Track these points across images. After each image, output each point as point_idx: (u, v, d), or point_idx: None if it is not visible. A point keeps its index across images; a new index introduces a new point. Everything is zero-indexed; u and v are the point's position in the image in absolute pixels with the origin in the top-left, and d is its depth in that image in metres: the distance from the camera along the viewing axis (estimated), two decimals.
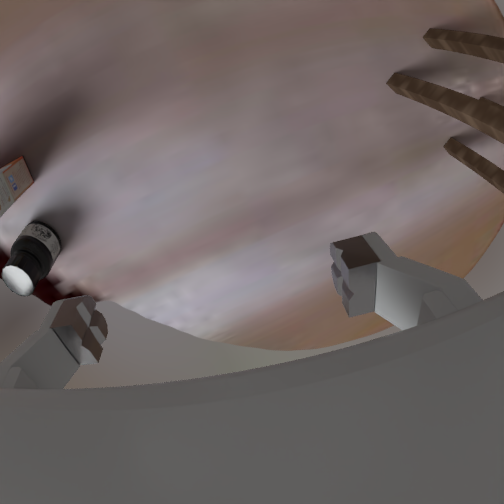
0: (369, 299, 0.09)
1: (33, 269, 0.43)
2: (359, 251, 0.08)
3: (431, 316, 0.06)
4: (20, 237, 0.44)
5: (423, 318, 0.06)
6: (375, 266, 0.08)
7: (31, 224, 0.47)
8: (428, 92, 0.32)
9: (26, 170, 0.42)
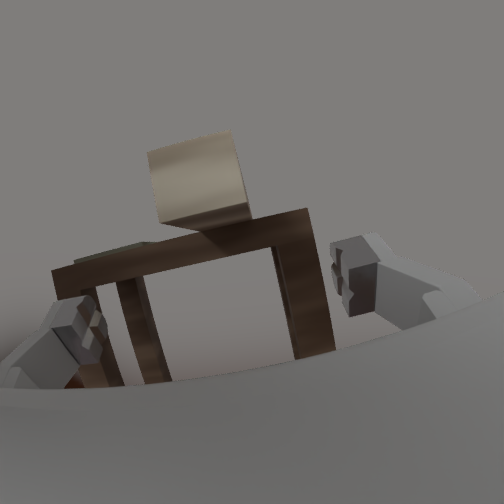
0: (369, 299, 0.09)
1: None
2: (359, 251, 0.08)
3: (431, 316, 0.06)
4: None
5: (423, 318, 0.06)
6: (375, 266, 0.08)
7: None
8: None
9: None
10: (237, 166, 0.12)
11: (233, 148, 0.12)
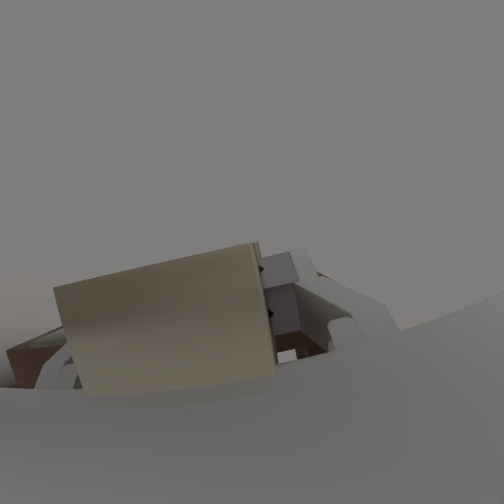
0: (292, 318, 0.09)
1: None
2: (280, 269, 0.08)
3: (333, 346, 0.06)
4: None
5: (330, 346, 0.06)
6: (292, 286, 0.08)
7: None
8: None
9: None
10: (266, 347, 0.05)
11: (255, 298, 0.05)
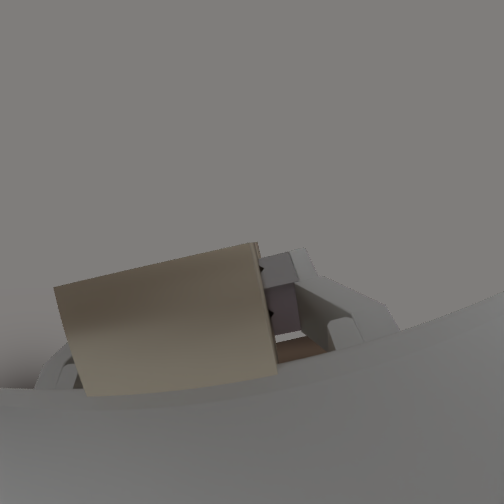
0: (292, 318, 0.09)
1: None
2: (280, 269, 0.08)
3: (333, 346, 0.06)
4: None
5: (330, 346, 0.06)
6: (292, 286, 0.08)
7: None
8: None
9: None
10: (268, 346, 0.05)
11: (257, 298, 0.05)
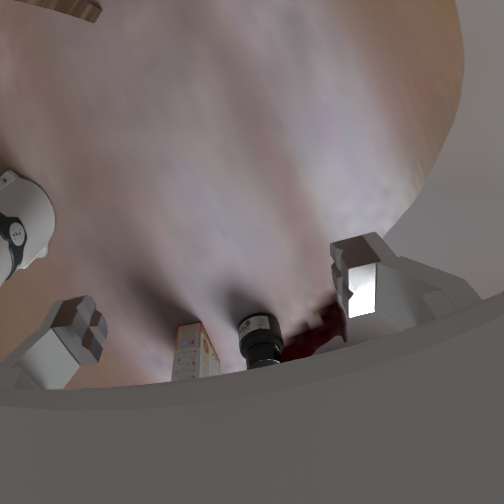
0: (369, 299, 0.09)
1: (259, 352, 0.57)
2: (359, 251, 0.08)
3: (431, 316, 0.06)
4: None
5: (423, 318, 0.06)
6: (375, 266, 0.08)
7: (238, 333, 0.66)
8: None
9: (188, 326, 0.64)
10: None
11: None
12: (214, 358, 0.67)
